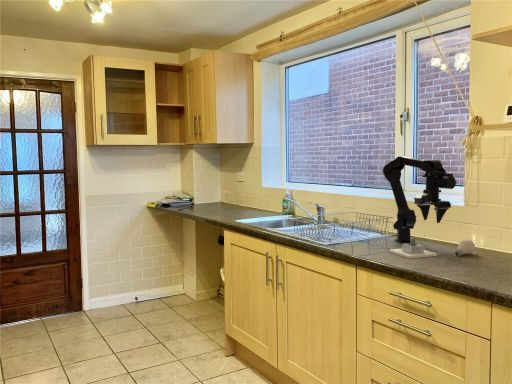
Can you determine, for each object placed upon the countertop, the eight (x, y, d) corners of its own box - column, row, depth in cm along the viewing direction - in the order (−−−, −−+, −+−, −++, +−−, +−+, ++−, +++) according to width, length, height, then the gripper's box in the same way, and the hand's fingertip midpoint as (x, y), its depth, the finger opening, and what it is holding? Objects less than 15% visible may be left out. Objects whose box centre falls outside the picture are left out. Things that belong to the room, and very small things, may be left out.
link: (402, 250, 202) (402, 243, 201) (414, 249, 204) (414, 242, 203) (411, 253, 196) (411, 246, 195) (423, 252, 198) (424, 245, 197)
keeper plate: (389, 251, 204) (389, 237, 204) (416, 249, 208) (416, 235, 208) (408, 258, 191) (409, 243, 190) (437, 255, 195) (437, 240, 195)
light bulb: (461, 246, 191) (475, 236, 197) (447, 247, 196) (461, 237, 202) (466, 261, 191) (480, 250, 197) (452, 261, 197) (466, 250, 203)
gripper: (404, 186, 217) (404, 219, 219) (430, 189, 199) (429, 225, 201) (425, 185, 220) (424, 218, 222) (452, 188, 202) (451, 224, 204)
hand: (431, 221), depth 212 cm, fingers open, 9 cm apart
